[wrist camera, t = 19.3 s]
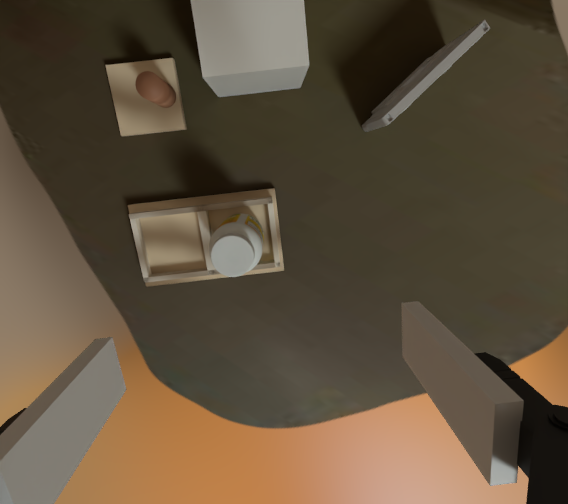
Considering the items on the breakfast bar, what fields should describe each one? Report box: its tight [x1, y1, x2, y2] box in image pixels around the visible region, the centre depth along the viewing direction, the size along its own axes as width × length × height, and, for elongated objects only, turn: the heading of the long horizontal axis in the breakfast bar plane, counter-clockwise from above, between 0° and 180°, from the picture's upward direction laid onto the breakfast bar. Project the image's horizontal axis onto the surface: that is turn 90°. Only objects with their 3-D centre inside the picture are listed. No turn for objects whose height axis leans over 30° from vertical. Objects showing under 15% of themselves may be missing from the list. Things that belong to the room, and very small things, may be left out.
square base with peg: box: [105, 58, 187, 136], centre depth 34 cm, size 7×7×6 cm
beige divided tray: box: [128, 188, 284, 287], centre depth 40 cm, size 10×17×2 cm, turn 96°
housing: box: [191, 0, 309, 97], centre depth 32 cm, size 9×9×9 cm
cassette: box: [361, 20, 490, 132], centre depth 34 cm, size 12×2×8 cm, turn 134°
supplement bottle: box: [209, 213, 264, 277], centre depth 36 cm, size 5×5×10 cm
